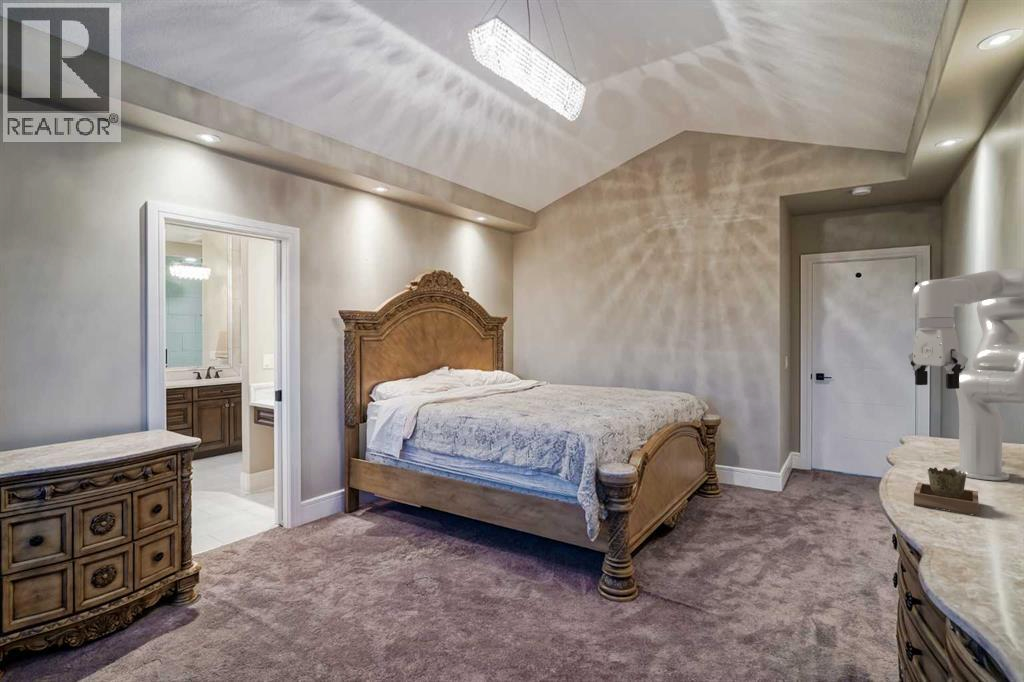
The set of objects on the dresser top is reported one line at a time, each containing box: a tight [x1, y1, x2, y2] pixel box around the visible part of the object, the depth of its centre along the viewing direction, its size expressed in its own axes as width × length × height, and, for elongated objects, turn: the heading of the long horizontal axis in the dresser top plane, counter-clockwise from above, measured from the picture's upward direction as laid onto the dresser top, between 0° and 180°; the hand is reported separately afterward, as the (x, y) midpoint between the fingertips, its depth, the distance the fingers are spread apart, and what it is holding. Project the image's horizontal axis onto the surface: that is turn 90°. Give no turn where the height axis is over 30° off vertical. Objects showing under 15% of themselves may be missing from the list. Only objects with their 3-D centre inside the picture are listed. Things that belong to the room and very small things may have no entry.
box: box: [913, 482, 979, 516], centre depth 129 cm, size 12×12×3 cm
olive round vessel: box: [927, 467, 967, 499], centre depth 129 cm, size 8×7×8 cm
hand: (936, 386), depth 141 cm, fingers open, 9 cm apart
